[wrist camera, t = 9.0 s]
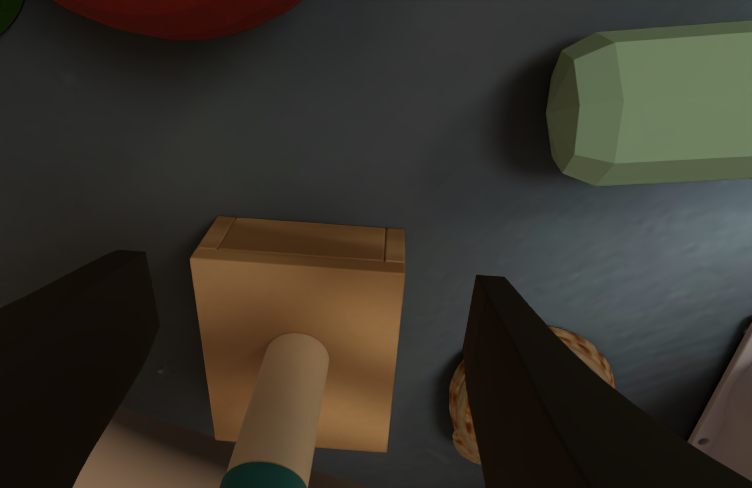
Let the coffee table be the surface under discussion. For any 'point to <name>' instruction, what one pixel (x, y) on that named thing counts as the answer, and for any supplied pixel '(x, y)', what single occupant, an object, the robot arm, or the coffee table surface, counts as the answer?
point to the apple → (180, 15)
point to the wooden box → (302, 317)
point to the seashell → (460, 405)
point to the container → (654, 105)
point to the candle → (8, 12)
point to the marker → (281, 417)
